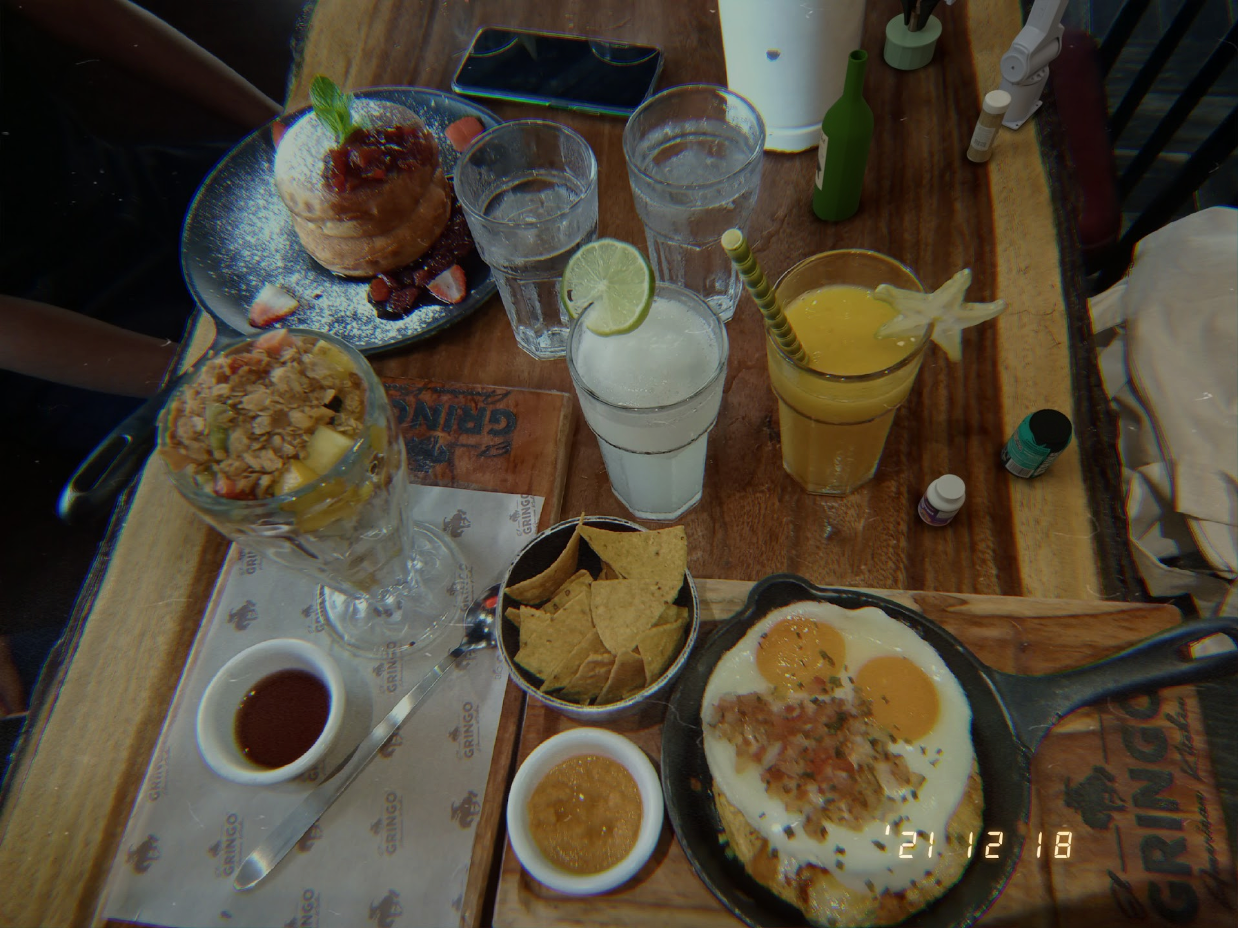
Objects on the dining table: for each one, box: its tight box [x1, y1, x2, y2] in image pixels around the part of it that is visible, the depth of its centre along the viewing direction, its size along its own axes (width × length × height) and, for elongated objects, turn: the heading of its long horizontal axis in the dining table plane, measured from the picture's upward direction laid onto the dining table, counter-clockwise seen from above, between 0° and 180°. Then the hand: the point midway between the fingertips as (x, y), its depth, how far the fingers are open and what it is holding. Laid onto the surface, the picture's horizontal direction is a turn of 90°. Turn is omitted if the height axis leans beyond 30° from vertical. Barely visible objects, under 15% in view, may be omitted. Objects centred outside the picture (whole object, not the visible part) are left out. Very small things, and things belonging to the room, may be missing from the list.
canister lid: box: [885, 5, 943, 48], centre depth 156 cm, size 11×11×5 cm
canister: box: [883, 37, 938, 71], centre depth 160 cm, size 10×10×6 cm
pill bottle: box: [917, 473, 966, 527], centre depth 112 cm, size 5×5×10 cm
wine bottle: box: [812, 49, 875, 222], centre depth 132 cm, size 9×9×32 cm
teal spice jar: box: [1000, 408, 1073, 480], centre depth 112 cm, size 7×7×12 cm
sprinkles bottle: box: [966, 89, 1011, 163], centre depth 140 cm, size 5×5×13 cm
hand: (914, 25), depth 156 cm, fingers closed on canister lid, 3 cm apart
